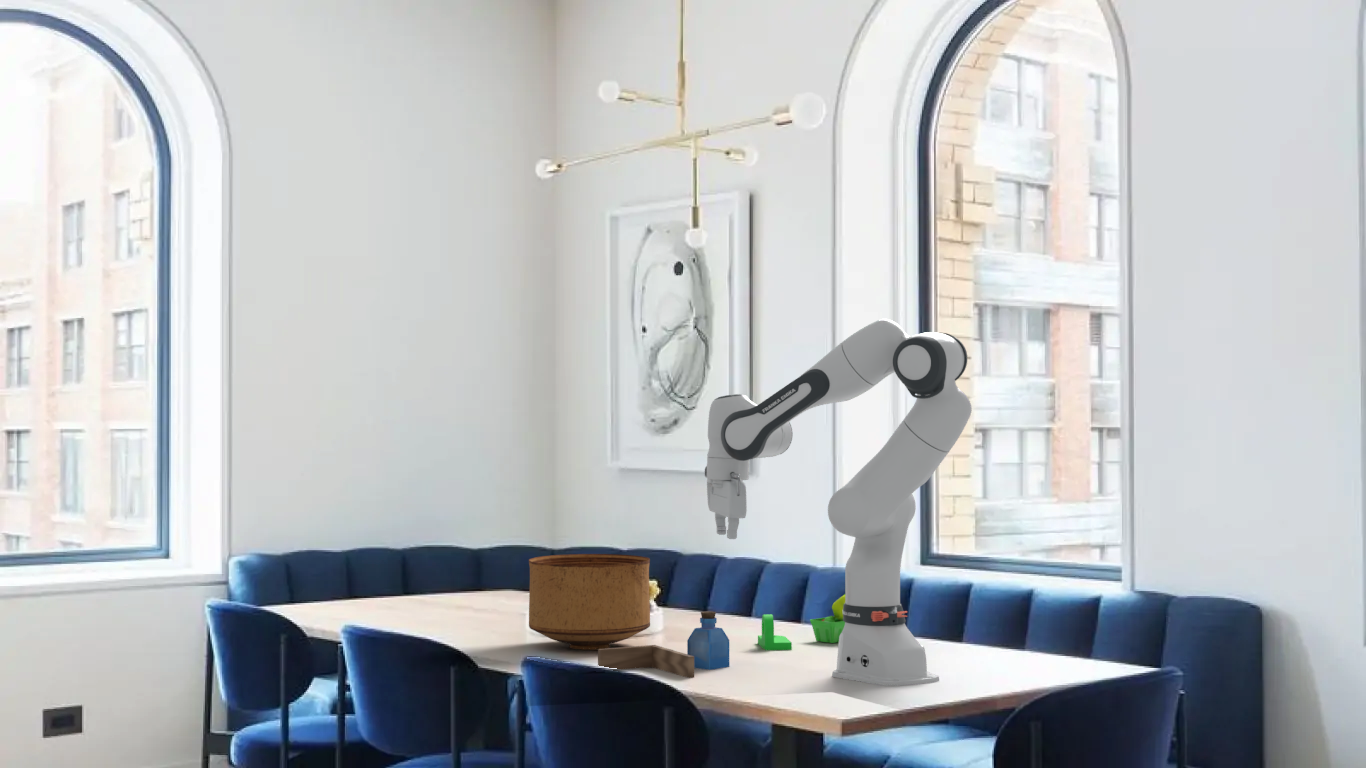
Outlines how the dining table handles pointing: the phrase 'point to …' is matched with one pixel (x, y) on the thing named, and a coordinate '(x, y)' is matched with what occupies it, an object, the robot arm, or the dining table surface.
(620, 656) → the l-shaped wooden board
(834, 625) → the fruit basket
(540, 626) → the pot
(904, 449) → the robot arm
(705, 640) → the perfume bottle
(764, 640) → the mechanical part
